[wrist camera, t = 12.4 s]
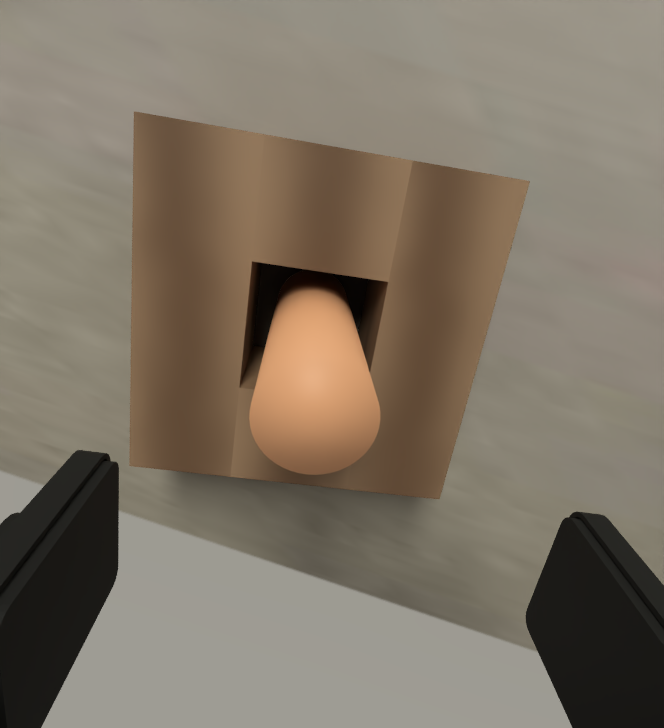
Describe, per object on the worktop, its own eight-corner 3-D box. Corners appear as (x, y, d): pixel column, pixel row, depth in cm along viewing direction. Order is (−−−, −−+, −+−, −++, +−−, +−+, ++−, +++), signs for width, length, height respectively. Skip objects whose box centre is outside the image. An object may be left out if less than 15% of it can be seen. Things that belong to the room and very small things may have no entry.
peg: (353, 274, 27) (392, 367, 14) (341, 341, 29) (367, 481, 16) (282, 263, 27) (256, 349, 14) (273, 332, 28) (243, 467, 15)
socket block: (482, 179, 26) (529, 181, 20) (416, 441, 32) (439, 499, 26) (174, 125, 24) (133, 111, 19) (163, 411, 30) (129, 465, 24)
